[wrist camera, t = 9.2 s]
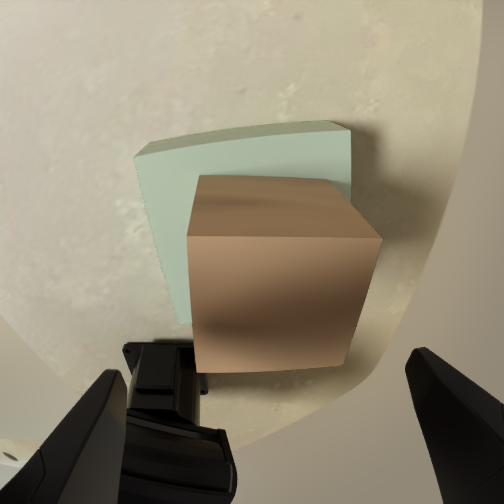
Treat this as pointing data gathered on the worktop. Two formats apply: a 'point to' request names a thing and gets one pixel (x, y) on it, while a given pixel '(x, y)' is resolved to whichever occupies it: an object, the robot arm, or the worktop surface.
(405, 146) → the worktop surface
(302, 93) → the worktop surface
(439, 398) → the robot arm
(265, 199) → the walnut cube
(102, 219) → the worktop surface
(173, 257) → the sage box
